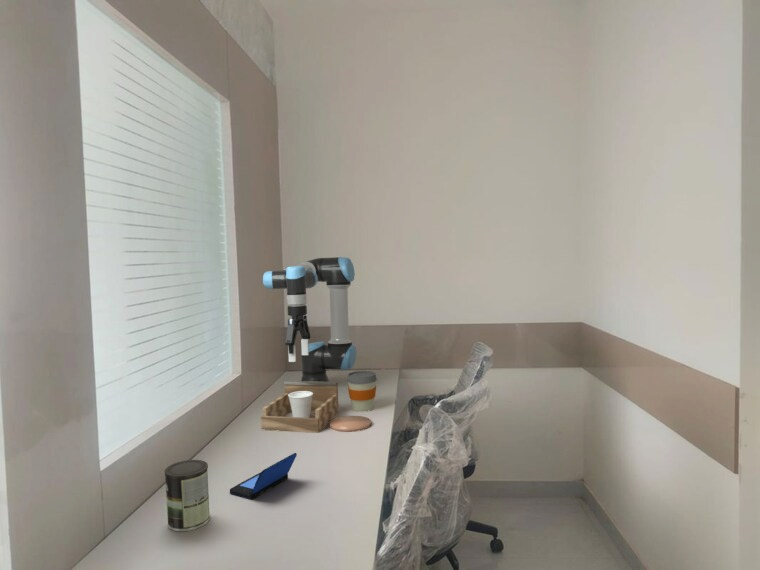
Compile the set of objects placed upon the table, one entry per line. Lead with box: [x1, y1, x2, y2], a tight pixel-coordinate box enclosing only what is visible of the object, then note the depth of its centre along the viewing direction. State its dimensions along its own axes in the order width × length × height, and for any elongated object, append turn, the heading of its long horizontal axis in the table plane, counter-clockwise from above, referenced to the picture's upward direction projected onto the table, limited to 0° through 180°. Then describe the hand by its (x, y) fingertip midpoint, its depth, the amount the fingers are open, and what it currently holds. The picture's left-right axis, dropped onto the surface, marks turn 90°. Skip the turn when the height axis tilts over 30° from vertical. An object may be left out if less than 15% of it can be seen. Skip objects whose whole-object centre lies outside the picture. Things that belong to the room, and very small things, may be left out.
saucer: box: [329, 415, 372, 433], centre depth 211 cm, size 16×16×1 cm
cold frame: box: [260, 380, 339, 434], centre depth 218 cm, size 25×23×13 cm
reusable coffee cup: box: [346, 370, 377, 412], centre depth 232 cm, size 13×13×15 cm
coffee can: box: [164, 459, 211, 533], centre depth 137 cm, size 10×10×14 cm
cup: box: [288, 391, 313, 418], centre depth 217 cm, size 10×10×11 cm
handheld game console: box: [229, 452, 298, 501], centre depth 156 cm, size 16×13×9 cm
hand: (299, 358), depth 216 cm, fingers open, 13 cm apart
